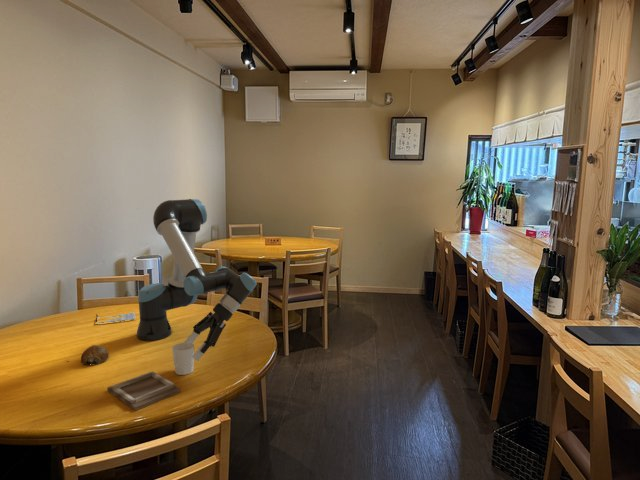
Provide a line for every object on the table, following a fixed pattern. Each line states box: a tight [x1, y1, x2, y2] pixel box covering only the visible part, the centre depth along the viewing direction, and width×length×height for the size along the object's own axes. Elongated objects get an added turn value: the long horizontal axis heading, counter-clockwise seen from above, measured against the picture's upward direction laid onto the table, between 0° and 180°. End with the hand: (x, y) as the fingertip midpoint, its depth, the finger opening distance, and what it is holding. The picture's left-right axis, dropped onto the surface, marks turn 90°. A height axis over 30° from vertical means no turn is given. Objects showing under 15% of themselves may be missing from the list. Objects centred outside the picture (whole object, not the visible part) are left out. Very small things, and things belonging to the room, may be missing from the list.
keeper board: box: [106, 370, 181, 411], centre depth 153 cm, size 20×16×2 cm
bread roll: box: [80, 344, 110, 366], centre depth 178 cm, size 10×10×8 cm
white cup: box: [171, 342, 195, 376], centre depth 168 cm, size 8×8×10 cm
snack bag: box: [96, 311, 136, 323], centre depth 231 cm, size 19×20×2 cm
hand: (189, 352), depth 168 cm, fingers open, 13 cm apart
